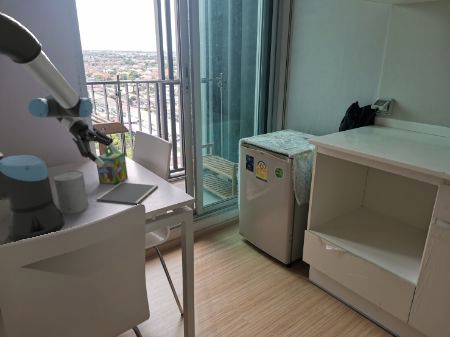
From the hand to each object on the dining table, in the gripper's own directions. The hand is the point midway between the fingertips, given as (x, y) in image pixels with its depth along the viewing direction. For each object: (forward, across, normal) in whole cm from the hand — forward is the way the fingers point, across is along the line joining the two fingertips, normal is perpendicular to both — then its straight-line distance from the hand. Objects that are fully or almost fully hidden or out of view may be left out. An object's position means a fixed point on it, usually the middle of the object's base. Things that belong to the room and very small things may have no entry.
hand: (111, 160), depth 140 cm
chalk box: (+7, +1, -6) cm, 9 cm away
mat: (+16, +13, +4) cm, 21 cm away
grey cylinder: (+7, +28, -5) cm, 29 cm away
